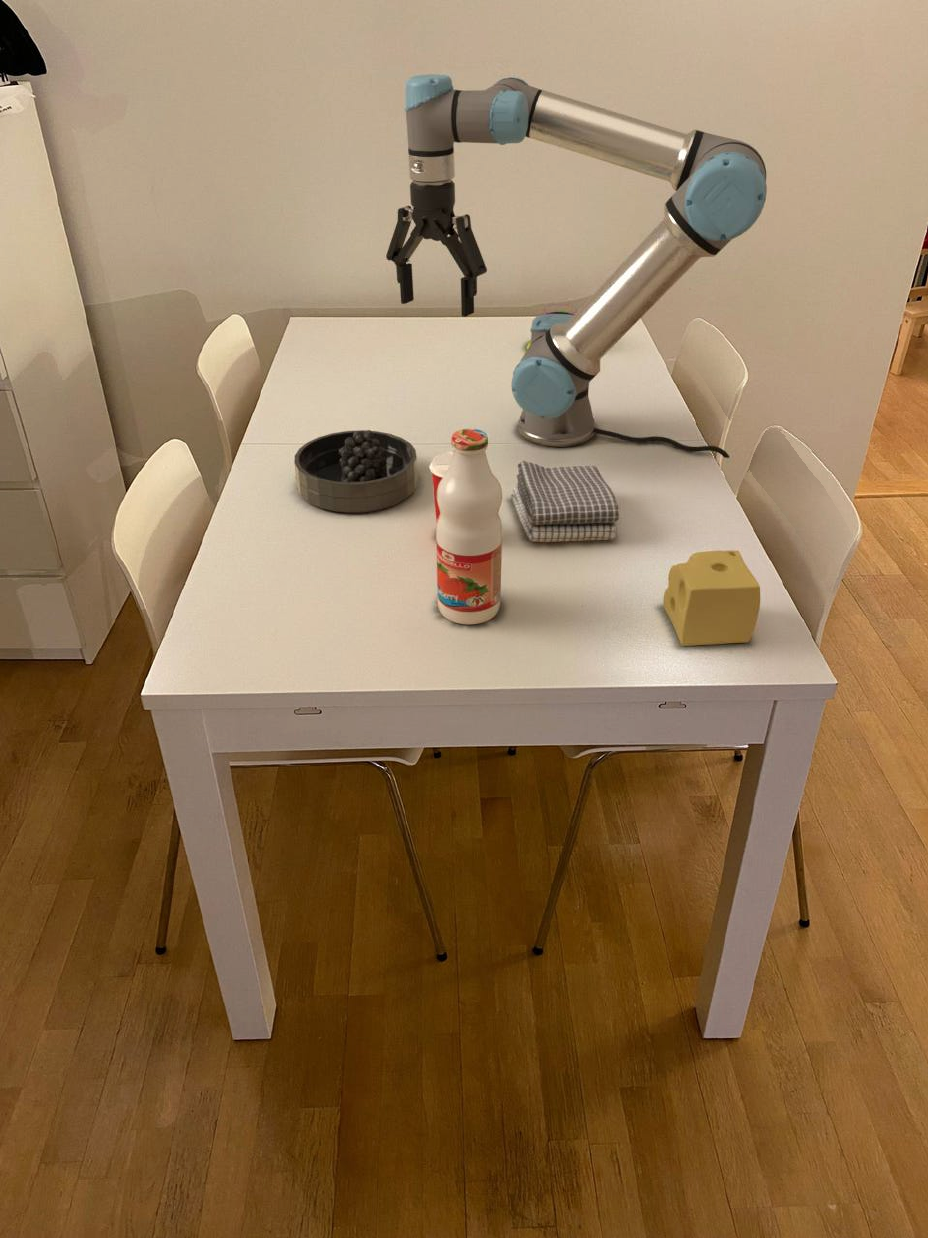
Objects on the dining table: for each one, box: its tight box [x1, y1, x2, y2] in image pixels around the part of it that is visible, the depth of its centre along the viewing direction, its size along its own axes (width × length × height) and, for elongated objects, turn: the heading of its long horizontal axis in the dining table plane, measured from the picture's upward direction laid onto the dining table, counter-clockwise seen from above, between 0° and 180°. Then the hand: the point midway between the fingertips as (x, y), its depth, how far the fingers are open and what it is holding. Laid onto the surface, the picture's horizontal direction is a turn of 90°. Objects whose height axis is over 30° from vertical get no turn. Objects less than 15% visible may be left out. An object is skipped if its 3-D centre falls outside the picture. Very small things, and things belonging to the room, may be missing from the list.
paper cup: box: [428, 450, 454, 524], centre depth 162 cm, size 8×8×14 cm
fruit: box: [339, 429, 387, 482], centre depth 178 cm, size 9×8×15 cm
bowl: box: [294, 429, 418, 514], centre depth 179 cm, size 22×22×6 cm
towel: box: [510, 460, 620, 543], centre depth 168 cm, size 15×18×8 cm
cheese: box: [662, 550, 761, 647], centre depth 142 cm, size 10×11×10 cm
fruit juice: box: [435, 428, 503, 625], centre depth 141 cm, size 9×9×28 cm
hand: (437, 308), depth 178 cm, fingers open, 13 cm apart
